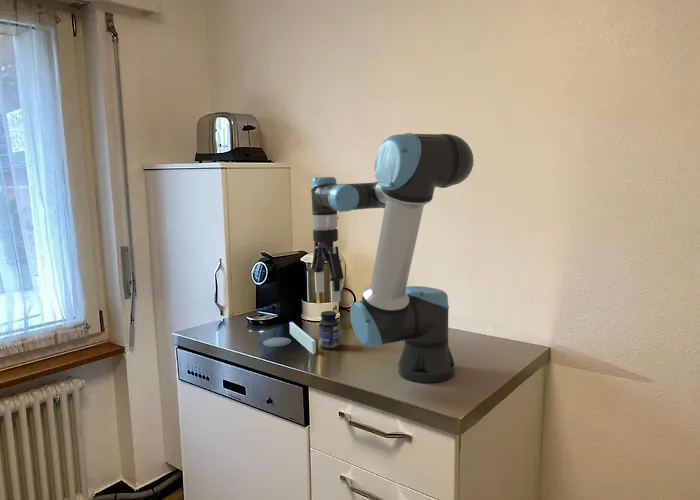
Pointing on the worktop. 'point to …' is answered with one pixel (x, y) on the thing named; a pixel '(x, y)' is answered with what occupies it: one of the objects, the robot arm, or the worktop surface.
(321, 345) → the pill bottle
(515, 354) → the worktop surface
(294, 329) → the divider wall
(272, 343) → the coaster
